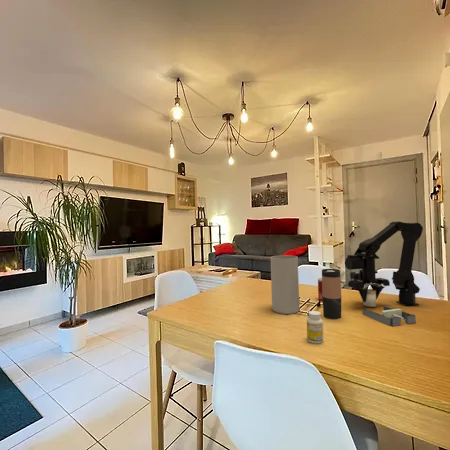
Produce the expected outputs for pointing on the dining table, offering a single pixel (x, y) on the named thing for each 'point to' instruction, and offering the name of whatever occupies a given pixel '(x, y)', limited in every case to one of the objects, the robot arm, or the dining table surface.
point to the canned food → (320, 289)
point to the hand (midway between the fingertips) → (369, 301)
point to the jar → (370, 298)
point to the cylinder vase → (285, 284)
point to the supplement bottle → (315, 327)
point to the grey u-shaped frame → (392, 320)
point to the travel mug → (331, 293)
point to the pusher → (393, 313)
